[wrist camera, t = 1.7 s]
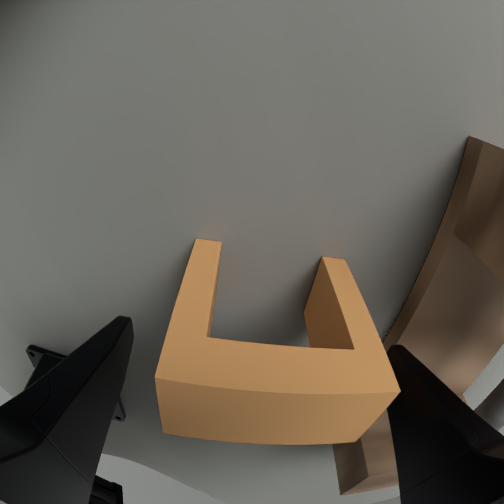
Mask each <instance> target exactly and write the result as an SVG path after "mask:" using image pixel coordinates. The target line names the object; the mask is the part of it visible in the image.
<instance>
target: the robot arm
mask: <svg viewBox="0 0 504 504" xmlns="http://www.w3.org/2000/svg"><path fill="white" fill-rule="evenodd" d="M133 340H134V333H133V325H132V320H131V318H130V317H125V316H118V317H116V318H115V319H114V320H113V321H111V322H110V323H109V324H107V325H106V326H105V327H104V328H102V329H101V330H100V331H99V332H97V333H96V334H95V335H93V336H92V337H91V338H90V339H88V340H87V341H86V342H85V343H83V344H82V345H81V346H80V347H78V348H77V349H76V350H75V351H73V352H72V353H71V354H70V355H68V356H64V355H60V354H57V353H54V352H51V351H48V350H45V349H42V348H39V347H36V346H33V345H29V346H28V348H27V349H26V352H27V354H28V356H29V358H30V360H31V362H32V364H33V366H34V368H35V369H34V371H33V373H32V375H31V377H30V379H29V381H28V383H27V385H26V387H25V389H24V391H23V392H21V393H20V394H18V395H17V396H15V397H14V398H12V399H11V400H9V401H8V402H6V403H4V404H3V405H2V406H0V504H123V492H122V486H121V485H119V484H117V483H114V482H109V481H107V480H105V479H103V478H101V477H99V476H97V475H95V474H96V470H97V467H98V463H99V460H100V456H101V453H102V449H103V446H104V442H105V439H106V436H107V432H108V429H109V426H110V423H111V420H112V419H113V420H117V421H121V422H122V421H125V417H126V415H125V412H124V409H123V406H122V403H121V400H120V397H119V395H120V392H121V389H122V386H123V383H124V380H125V376H126V371H127V367H128V362H129V358H130V353H131V349H132V345H133ZM386 354H387V356H388V359H389V362H390V364H391V367H392V369H393V372H394V374H395V377H396V380H397V382H398V385H399V388H400V390H401V392H400V393H399V394H398V395H397V396H396V398H395V399H394V400H393V401H392V402H391V404H390V405H389V406H388V407H387V413H388V418H389V423H390V429H391V435H392V440H393V446H394V453H395V459H396V466H397V473H398V481H399V489H400V494H401V495H400V499H401V504H504V436H503V435H502V434H501V433H499V432H498V431H497V430H496V429H495V428H493V427H492V426H491V425H490V424H488V423H487V422H486V421H485V420H484V419H482V418H481V417H480V416H479V415H478V414H476V413H475V412H474V411H473V410H472V409H471V408H470V407H469V406H468V405H467V404H466V403H465V402H463V401H462V400H461V399H460V398H459V397H458V396H457V395H456V394H455V393H454V392H453V391H452V390H451V389H450V388H449V387H448V386H447V385H445V384H444V383H443V382H442V381H441V380H440V379H439V378H438V377H437V376H436V375H435V374H434V373H432V372H431V371H430V370H429V369H428V368H427V367H426V366H425V365H424V364H423V363H422V362H421V361H419V360H418V359H417V358H416V357H415V356H414V355H413V354H412V353H411V352H410V351H408V350H407V349H406V348H405V347H404V346H403V345H400V344H393V345H391V346H390V347H389V349H388V351H387V352H386Z"/></svg>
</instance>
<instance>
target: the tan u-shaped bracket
mask: <svg viewBox="0 0 504 504" xmlns="http://www.w3.org/2000/svg"><path fill="white" fill-rule="evenodd" d="M221 245H222V242H218V241H211V240H203V239H196V241H195V244H194V247H193V250H192V253H191V256H190V259H189V262H188V265H187V268H186V271H185V274H184V277H183V281H182V284H181V287H180V290H179V294H178V297H177V300H176V303H175V307H174V310H173V313H172V317H171V320H170V324H169V327H168V330H167V334H166V337H165V341H164V344H163V348H162V352H161V355H160V359H159V363H158V366H157V370H156V374H155V385H156V392H157V399H158V405H159V412H160V418H161V424H162V429H163V433H166V434H172V435H178V436H184V437H191V438H198V439H205V440H214V441H223V442H235V443H249V444H270V445H314V444H335V443H349V442H356V441H357V440H358V439H359V438H360V436H361V435H362V434H363V433H364V432H365V431H366V430H367V429H368V428H369V427H370V426H371V425H372V424H373V423H374V422H375V421H376V419H377V418H378V417H379V416H380V415H381V414H382V413H383V412H384V411H385V409H386V408H387V407H388V406H389V405H390V404H391V402H392V401H393V400H394V399H395V398H396V396H397V395H398V394H399V393H400V392H401V390H400V388H399V385H398V382H397V380H396V377H395V374H394V372H393V369H392V367H391V364H390V362H389V359H388V356H387V354H386V351H385V349H384V347H383V344H382V342H381V339H380V337H379V334H378V332H377V330H376V327H375V325H374V323H373V320H372V318H371V316H370V313H369V311H368V309H367V307H366V304H365V302H364V300H363V298H362V295H361V293H360V291H359V289H358V287H357V284H356V282H355V280H354V278H353V276H352V274H351V272H350V269H349V267H348V265H347V263H346V261H345V259H338V258H331V257H324V256H322V258H321V261H320V264H319V268H318V271H317V274H316V277H315V280H314V283H313V286H312V289H311V292H310V295H309V298H308V301H307V304H306V307H305V310H304V318H305V323H306V328H307V333H308V338H309V343H310V347H295V346H283V345H272V344H261V343H252V342H242V341H234V340H226V339H218V338H210V330H211V323H212V316H213V310H214V303H215V294H216V286H217V278H218V269H219V261H220V253H221Z"/></svg>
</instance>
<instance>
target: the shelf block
mask: <svg viewBox="0 0 504 504" xmlns="http://www.w3.org/2000/svg"><path fill="white" fill-rule="evenodd" d="M503 343H504V149H502V148H499V147H497V146H494V145H492V144H489V143H487V142H484V141H482V140H479V139H476V138H474V137H471V136H469V138H468V142H467V146H466V149H465V153H464V157H463V160H462V163H461V167H460V170H459V173H458V177H457V180H456V183H455V186H454V189H453V192H452V195H451V198H450V201H449V203H448V206H447V209H446V212H445V214H444V217H443V220H442V222H441V225H440V227H439V230H438V232H437V235H436V237H435V240H434V242H433V244H432V247H431V249H430V251H429V254H428V256H427V258H426V261H425V263H424V265H423V267H422V269H421V272H420V274H419V276H418V278H417V280H416V282H415V284H414V286H413V288H412V290H411V292H410V294H409V296H408V298H407V300H406V302H405V304H404V306H403V308H402V310H401V312H400V313H399V315H398V317H397V319H396V321H395V323H394V324H393V326H392V328H391V330H390V332H389V333H388V335H387V337H386V338H385V340H384V342H383V347H384V349H385V351H386V352H387V351H388V349H389V347H390V346H391V345H393V344H400V345H403V346H404V347H405V348H406V349H407V350H408V351H410V352H411V353H412V354H413V355H414V356H415V357H416V358H417V359H418V360H419V361H421V362H422V363H423V364H424V365H425V366H426V367H427V368H428V369H429V370H430V371H431V372H432V373H434V374H435V375H436V376H437V377H438V378H439V379H440V380H441V381H442V382H443V383H444V384H445V385H447V386H448V387H449V388H450V389H451V390H452V391H453V392H454V393H455V394H456V395H457V396H458V397H459V398H460V399H461V400H462V401H463V402H465V403H466V401H465V398H464V396H463V393H464V392H465V391H466V390H467V388H468V387H469V386H470V385H471V384H472V383H473V382H474V380H475V379H476V378H477V377H478V376H479V374H480V373H481V372H482V371H483V370H484V368H485V367H486V366H487V365H488V363H489V362H490V361H491V359H492V358H493V357H494V356H495V354H496V353H497V352H498V350H499V349H500V348H501V346H502V345H503ZM466 404H467V403H466ZM474 412H475V413H476V414H478V415H479V416H480V417H481V418H482V419H484V420H485V421H486V422H487V423H488V424H490V425H491V426H492V427H493V428H495V429H496V430H497V431H498V430H499V429H500V428H501V427H502V426H504V379H503V380H502V381H501V382H500V383H499V384H498V386H497V387H496V388H495V389H494V390H493V391H492V392H491V393H490V394H489V395H488V397H487V398H486V399H485V400H484V401H483V402H482V403H481V404H480V405H479V406H478V407H477V408H476V409H475V410H474ZM333 450H334V456H335V463H336V469H337V476H338V482H339V489H340V495H347V494H354V493H360V492H366V491H371V490H377V489H381V488H386V487H391V486H395V485H399V481H398V473H397V466H396V459H395V453H394V446H393V440H392V435H391V429H390V423H389V418H388V413H387V408H386V409H385V411H384V412H383V413H382V414H381V415H380V416H379V417H378V418H377V419H376V421H375V422H374V423H373V424H372V425H371V426H370V427H369V428H368V429H367V430H366V431H365V432H364V433H363V434H362V435H361V436H360V438H359V439H358V440H357V441H356V442H349V443H335V444H333Z"/></svg>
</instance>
